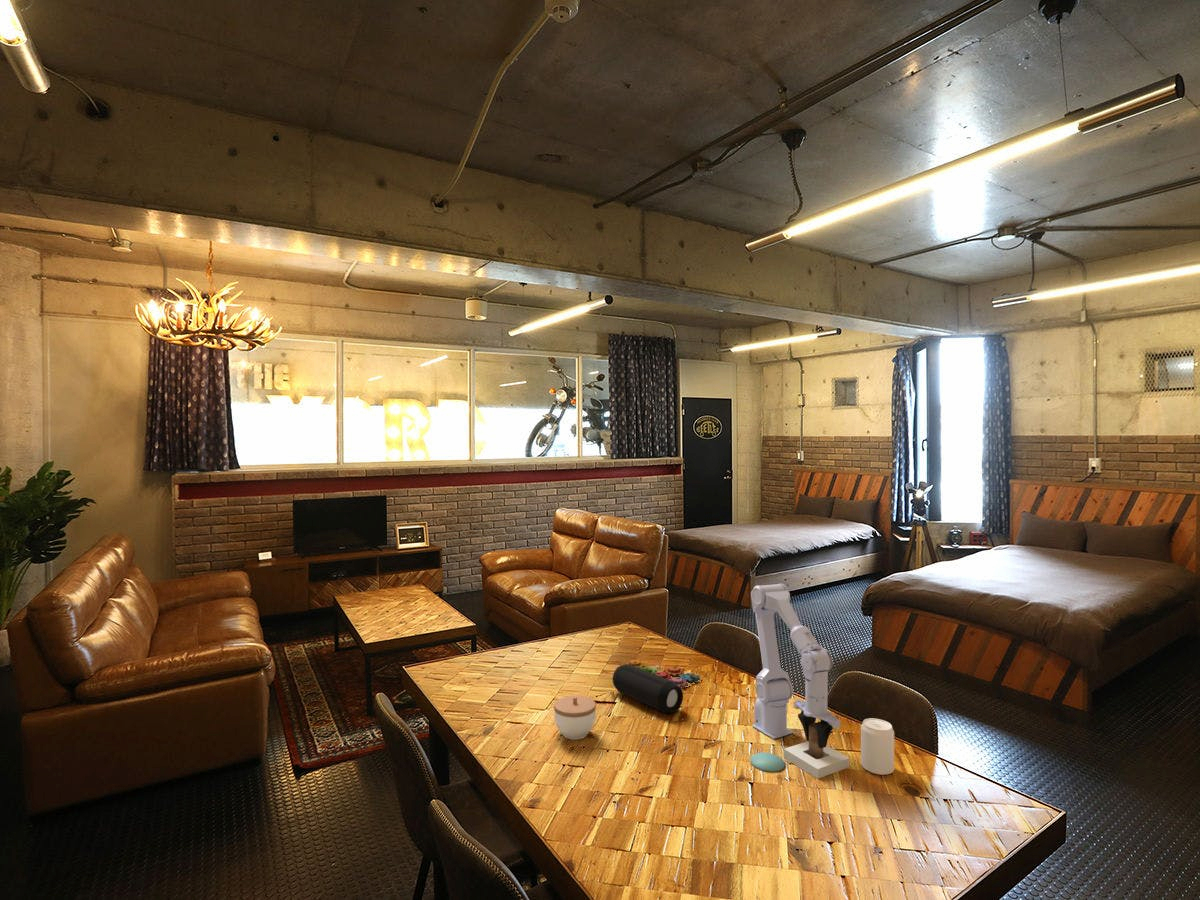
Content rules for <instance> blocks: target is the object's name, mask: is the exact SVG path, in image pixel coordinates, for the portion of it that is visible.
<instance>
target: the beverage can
mask: <svg viewBox="0 0 1200 900" xmlns="http://www.w3.org/2000/svg"><path fill="white" fill-rule="evenodd" d="M894 730H895V729H893V725H892V724H891V723H890V722H888V721H886V720H884V719H881V718H880V719H879V718H875V717H874V718H873V717H871V718H870V717H869V718H865V719H863V721H862V723H861V725H860V765H861V767H862V768H864V769H865V771H866V770H867V771H868V772H870V773H872V774H875V775H879V776H880V775H881V776H884V775H889V774H892V773H893V772H894V771H895V731H894Z"/></svg>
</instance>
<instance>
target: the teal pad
mask: <svg viewBox="0 0 1200 900" xmlns="http://www.w3.org/2000/svg"><path fill="white" fill-rule="evenodd" d="M750 764H751V766H753V767H754V768H755V769H757V770H759V771H763V772H766V773H767V772H768V773H769V772H770V773H777V772H780V771H782V770H784V769H785V764H786V763H785V760H784V759H783V758H782V757H780V756H779V755H777V754H774V753H770V752H756V753H754V754H753V755H751V756H750Z"/></svg>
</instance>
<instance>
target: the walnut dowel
mask: <svg viewBox="0 0 1200 900" xmlns="http://www.w3.org/2000/svg"><path fill="white" fill-rule="evenodd" d="M815 723H816V722H815ZM815 723H811V724H809V755H810V756H811V757H813V758H815V759H816V760H817V759H820V758H823V748H819V746H818V734H817V729H816V726H815Z"/></svg>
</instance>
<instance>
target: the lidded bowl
mask: <svg viewBox="0 0 1200 900" xmlns="http://www.w3.org/2000/svg"><path fill="white" fill-rule="evenodd" d="M596 709H597V703H596V701H595V700H594V699H593V698H591V697H588V696H584V695H567V696H562V697H560V698H558V699H557V700H556V701H555V702H554V703H553V710H554V721H555V726H556V727H557V729H558V731H559V732H560V733H561V734H562V736H563V738H565V739H567V740H568V739H569V740H573V741H575V740H581V739H584V738H585V737H587V734H589V732H591V730H592V728H593V727H594V724H595V720H596Z"/></svg>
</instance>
